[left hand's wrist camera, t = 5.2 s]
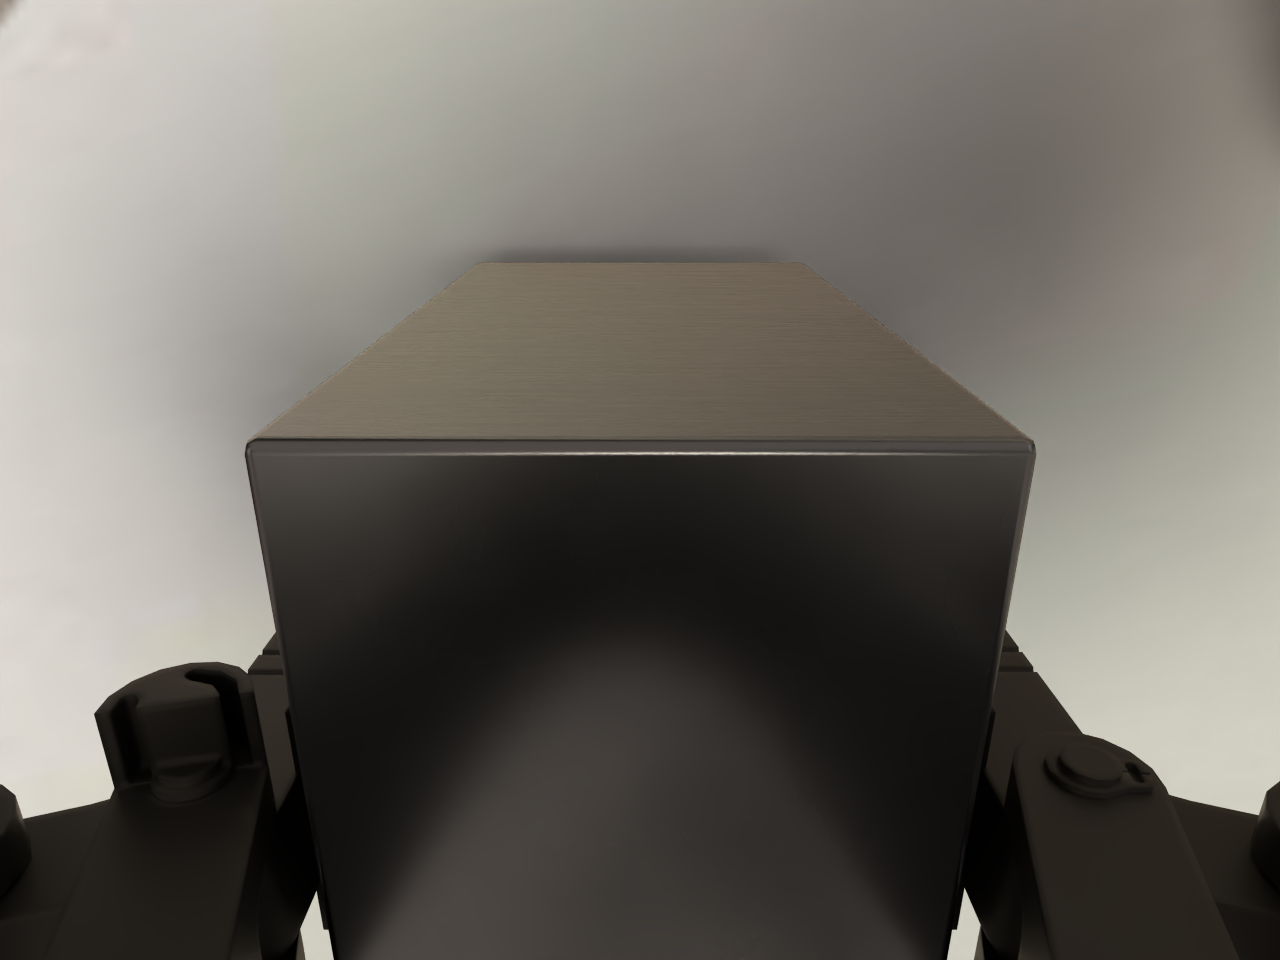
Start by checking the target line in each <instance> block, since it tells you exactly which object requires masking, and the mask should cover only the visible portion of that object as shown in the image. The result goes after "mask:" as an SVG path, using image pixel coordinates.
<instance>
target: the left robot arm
mask: <svg viewBox="0 0 1280 960" xmlns="http://www.w3.org/2000/svg"><path fill="white" fill-rule="evenodd" d="M94 716H95V719H96V723H97V726H98V730H99V734H100V737H101V741H102V745H103V748H104V752H105V755H106V759H107V763H108V766H109V770H110V774H111V777H112V781H113V784H114V791H113V793H112V795H111V798H110V799H108V800H105V801H101V802H98V803H94V804H91V805H86V806H81V807H77V808H72V809H67V810H63V811H58V812H53V813H48V814H44V815H39V816H34V817H30V818H25V819H23V817H22V814H21V811H20V808H19V805H18V802H17V799H16V796H15V795H14V794H13V793H12V792H11V791H9V790H8V789H7V788H5V787H4V786H3V785H0V960H305V954H304V947H303V942H302V936H301V931H300V928H301V926H302V923H303V921H304V919H305V916H306V914H307V912H308V909H309V907H310V905H311V902H312V900H313V898H314V895H315V893H316V891H317V895H318V901H319V906H320V912H321V917H322V923H323V928H324V930H329V929H328V923H327V918H326V912H325V906H324V901H323V895H322V889H321V884H320V878H319V872H318V867H317V861H316V855H315V850H314V844H313V838H312V833H311V827H310V821H309V816H308V810H307V804H306V799H305V793H304V787H303V782H302V776H301V770H300V765H299V759H298V753H297V748H296V742H295V736H294V731H293V725H292V719H291V714H290V708H289V702H288V697H287V691H286V685H285V680H284V674H283V668H282V663H281V657H280V651H279V646H278V640H277V634H276V633H275V634H274V635H273V637H272V638H271V639H270V641H269V642H268V644H267V645H266V646H265V648H264V649H263V653H262V655H259V656H258V657H257V658H256V660H255V661H254V663H253V664H252V665H251V667H250V668H249V669H248V674H247V673H246V672H245V671H243V670H242V669H241V668H240V667H237V666H233V665H229V664H224V663H220V662H203V663H188V664H183V665H179V666H174V667H170V668H165V669H161V670H158V671H156V672H154V673H151V674H149V675H146V676H144V677H141V678H139V679H136V680H134V681H132V682H130V683H129V684H127V685H126V686H124V687H123V688H121V689H120V690H118V691H117V692H115V693H113V694H112V695H110V696H109V697H108V698H107V699H106V700H105V702H104V703H103V704H102V705H101V706H100V707H99V709H98V710H97V711H96V712H95V713H94ZM964 887H965V890H966V892H967V894H968V897H969V899H970V901H971V903H972V906H973V908H974V910H975V913H976V915H977V917H978V920H979V922H980V924H981V926H980V931H979V936H978V942H977V947H976V952H975V957H974V960H1280V781H1279V782H1278V783H1277V784H1276V785H1274V786H1273V787H1272V788H1271V789H1269V790H1268V791H1267V792H1266V795H1265V798H1264V801H1263V805H1262V808H1261V811H1260V814H1259V815H1254V814H1250V813H1245V812H1240V811H1236V810H1231V809H1226V808H1221V807H1217V806H1212V805H1207V804H1203V803H1198V802H1193V801H1189V800H1186V799H1182V798H1178V797H1175V796H1171V795H1169V794H1168V792H1167V789H1166V787H1165V786H1164V784H1163V783H1162V781H1161V780H1160V779H1159V777H1158V776H1157V775H1156V773H1155V772H1154V770H1153V769H1152V768H1151V767H1149V766H1148V765H1147V764H1146V763H1144V762H1143V761H1142V760H1140V759H1139V758H1138V757H1136V756H1135V755H1134V754H1132V753H1131V752H1129V751H1127V750H1125V749H1123V748H1121V747H1119V746H1117V745H1114V744H1112V743H1110V742H1108V741H1106V740H1104V739H1101V738H1097V737H1093V736H1089V735H1085V734H1083V733H1082V732H1081V731H1080V729H1079V728H1078V727H1077V725H1076V724H1075V723H1074V721H1073V720H1072V719H1071V717H1070V716H1069V715H1068V713H1067V712H1066V710H1065V709H1064V708H1063V706H1062V705H1061V704H1060V702H1059V701H1058V700H1057V698H1056V697H1055V696H1054V694H1053V693H1052V692H1051V690H1050V689H1049V688H1048V686H1047V685H1046V684H1045V682H1044V681H1043V680H1042V678H1041V677H1040V675H1039V674H1038V673H1037V672H1033V666H1032V665H1031V663H1030V662H1029V661H1028V659H1027V658H1026V657H1025V655H1024V654H1023V653H1022V652H1019V647H1018V646H1017V645H1016V643H1015V642H1014V640H1013V639H1012V638H1011V636H1010V635H1009V634H1008V632H1007V631H1006V630H1005V634H1004V639H1003V645H1002V651H1001V656H1000V662H999V668H998V673H997V679H996V685H995V690H994V696H993V701H992V707H991V713H990V718H989V724H988V730H987V735H986V741H985V747H984V752H983V758H982V764H981V769H980V775H979V781H978V786H977V792H976V797H975V803H974V809H973V814H972V820H971V826H970V831H969V837H968V843H967V848H966V854H965V860H964V865H963V871H962V877H961V882H960V888H959V893H958V899H957V905H956V910H955V916H954V922H953V927H952V930H957V926H958V921H959V915H960V909H961V904H962V898H963V893H964Z"/></svg>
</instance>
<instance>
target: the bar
mask: <svg viewBox="0 0 1280 960" xmlns="http://www.w3.org/2000/svg"><path fill="white" fill-rule="evenodd" d="M245 459H246V464H247V470H248V476H249V481H250V487H251V493H252V498H253V504H254V510H255V515H256V521H257V527H258V532H259V538H260V544H261V549H262V555H263V561H264V566H265V572H266V578H267V583H268V589H269V595H270V600H271V606H272V612H273V617H274V623H275V629H276V634H277V640H278V646H279V651H280V657H281V663H282V668H283V674H284V680H285V685H286V691H287V697H288V702H289V708H290V714H291V719H292V725H293V731H294V736H295V742H296V748H297V753H298V759H299V765H300V770H301V776H302V782H303V787H304V793H305V799H306V804H307V810H308V816H309V821H310V827H311V833H312V838H313V844H314V850H315V855H316V861H317V867H318V872H319V878H320V884H321V889H322V895H323V901H324V906H325V912H326V918H327V923H328V929H329V935H330V940H331V946H332V952H333V957H334V960H947V956H948V950H949V944H950V939H951V933H952V927H953V922H954V916H955V910H956V905H957V899H958V893H959V888H960V882H961V877H962V871H963V865H964V860H965V854H966V848H967V843H968V837H969V831H970V826H971V820H972V814H973V809H974V803H975V797H976V792H977V786H978V781H979V775H980V769H981V764H982V758H983V752H984V747H985V741H986V735H987V730H988V724H989V718H990V713H991V707H992V701H993V696H994V690H995V685H996V679H997V673H998V668H999V662H1000V656H1001V651H1002V645H1003V639H1004V634H1005V628H1006V622H1007V617H1008V611H1009V605H1010V600H1011V594H1012V589H1013V583H1014V577H1015V572H1016V566H1017V560H1018V555H1019V549H1020V543H1021V538H1022V532H1023V526H1024V521H1025V515H1026V509H1027V504H1028V498H1029V492H1030V487H1031V481H1032V476H1033V470H1034V464H1035V459H1036V449H1035V445H1034V441H1033V440H1032V439H1030V438H1029V437H1028V436H1026V435H1025V434H1024V433H1023V432H1021V431H1020V430H1019V429H1017V428H1016V427H1015V426H1013V425H1012V424H1011V423H1010V422H1008V421H1007V420H1006V419H1004V418H1003V417H1002V416H1000V415H999V414H998V413H997V412H995V411H994V410H993V409H991V408H990V407H989V406H987V405H986V404H985V403H983V402H982V401H981V400H980V399H978V398H977V397H976V396H974V395H973V394H972V393H970V392H969V391H968V390H967V389H965V388H964V387H963V386H961V385H960V384H959V383H957V382H956V381H955V380H954V379H952V378H951V377H950V376H948V375H947V374H946V373H944V372H943V371H942V370H941V369H939V368H938V367H937V366H935V365H934V364H933V363H931V362H930V361H929V360H927V359H926V358H925V357H924V356H922V355H921V354H920V353H918V352H917V351H916V350H914V349H913V348H912V347H911V346H909V345H908V344H907V343H905V342H904V341H903V340H901V339H900V338H899V337H898V336H896V335H895V334H894V333H892V332H891V331H890V330H888V329H887V328H886V327H884V326H883V325H882V324H881V323H879V322H878V321H877V320H875V319H874V318H873V317H871V316H870V315H869V314H868V313H866V312H865V311H864V310H862V309H861V308H860V307H858V306H857V305H856V304H855V303H853V302H852V301H851V300H849V299H848V298H847V297H845V296H844V295H843V294H842V293H840V292H839V291H838V290H836V289H835V288H834V287H832V286H831V285H830V284H828V283H827V282H826V281H825V280H823V279H822V278H821V277H819V276H818V275H817V274H815V273H814V272H813V271H812V270H810V269H809V268H808V267H806V266H805V265H804V264H801V263H479V264H477V265H475V266H474V267H473V268H471V269H470V270H469V271H468V272H466V273H465V274H464V275H462V276H461V277H460V278H458V279H457V280H456V281H455V282H453V283H452V284H451V285H449V286H448V287H447V288H445V289H444V290H443V291H442V292H440V293H439V294H438V295H436V296H435V297H434V298H432V299H431V300H430V301H429V302H427V303H426V304H425V305H423V306H422V307H421V308H419V309H418V310H417V311H416V312H414V313H413V314H412V315H410V316H409V317H408V318H406V319H405V320H404V321H403V322H401V323H400V324H399V325H397V326H396V327H395V328H393V329H392V330H391V331H390V332H388V333H387V334H386V335H384V336H383V337H382V338H380V339H379V340H378V341H377V342H375V343H374V344H373V345H371V346H370V347H369V348H367V349H366V350H365V351H364V352H362V353H361V354H360V355H358V356H357V357H356V358H354V359H353V360H352V361H351V362H349V363H348V364H347V365H345V366H344V367H343V368H341V369H340V370H339V371H338V372H336V373H335V374H334V375H332V376H331V377H330V378H328V379H327V380H326V381H325V382H323V383H322V384H321V385H319V386H318V387H317V388H316V389H314V390H313V391H312V392H310V393H309V394H308V395H306V396H305V397H304V398H303V399H301V400H300V401H299V402H297V403H296V404H295V405H293V406H292V407H291V408H290V409H288V410H287V411H286V412H284V413H283V414H282V415H280V416H279V417H278V418H277V419H275V420H274V421H273V422H271V423H270V424H269V425H267V426H266V427H265V428H264V429H262V430H261V431H260V432H258V433H257V434H256V435H254V436H253V437H252V438H251V439H249V440H248V441H247V445H246V449H245Z"/></svg>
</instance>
